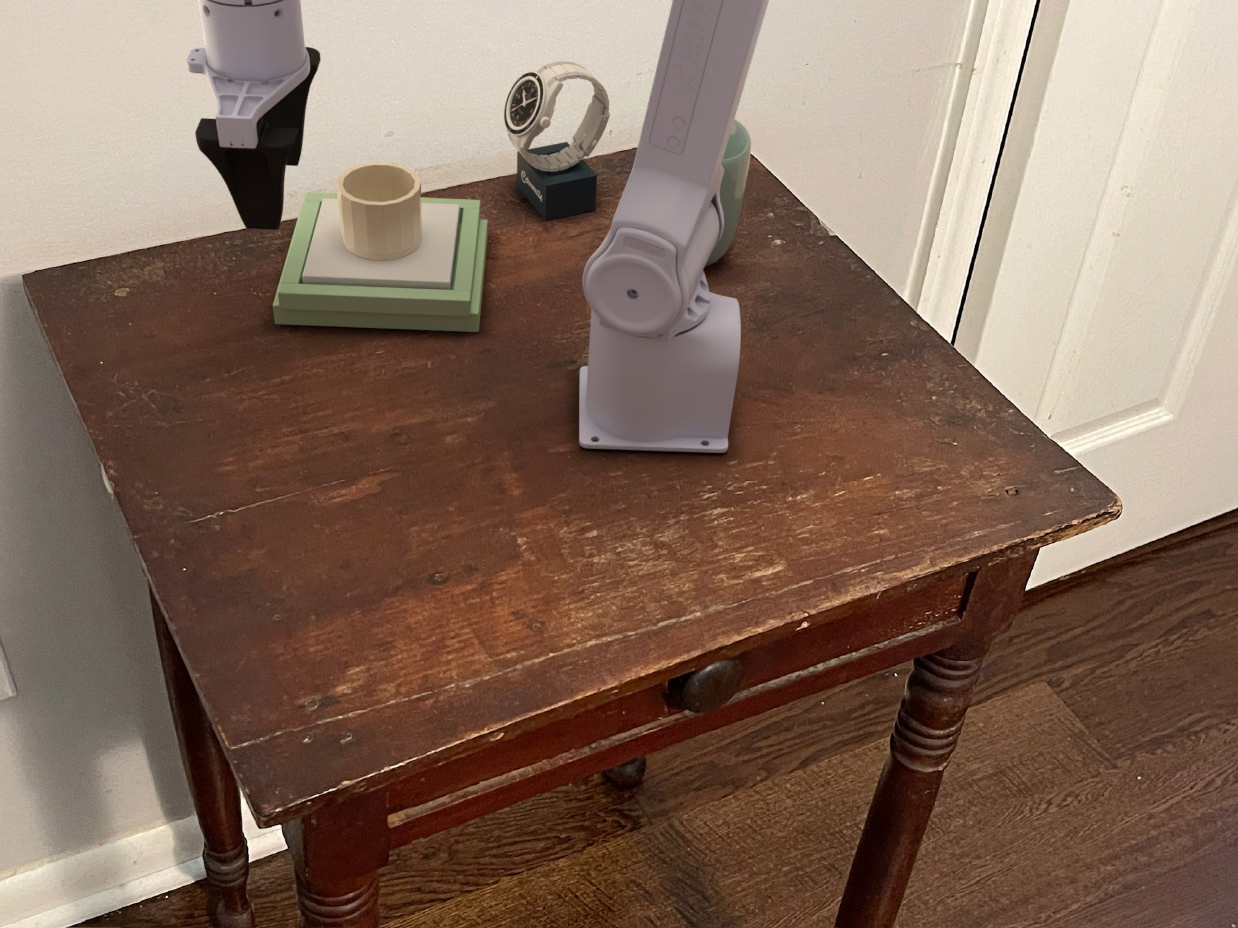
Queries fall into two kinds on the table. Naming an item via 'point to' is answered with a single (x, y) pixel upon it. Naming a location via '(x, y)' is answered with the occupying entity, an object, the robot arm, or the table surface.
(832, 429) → the table surface
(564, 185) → the watch
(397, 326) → the scale
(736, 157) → the cup
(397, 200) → the cylindrical container
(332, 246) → the pan
